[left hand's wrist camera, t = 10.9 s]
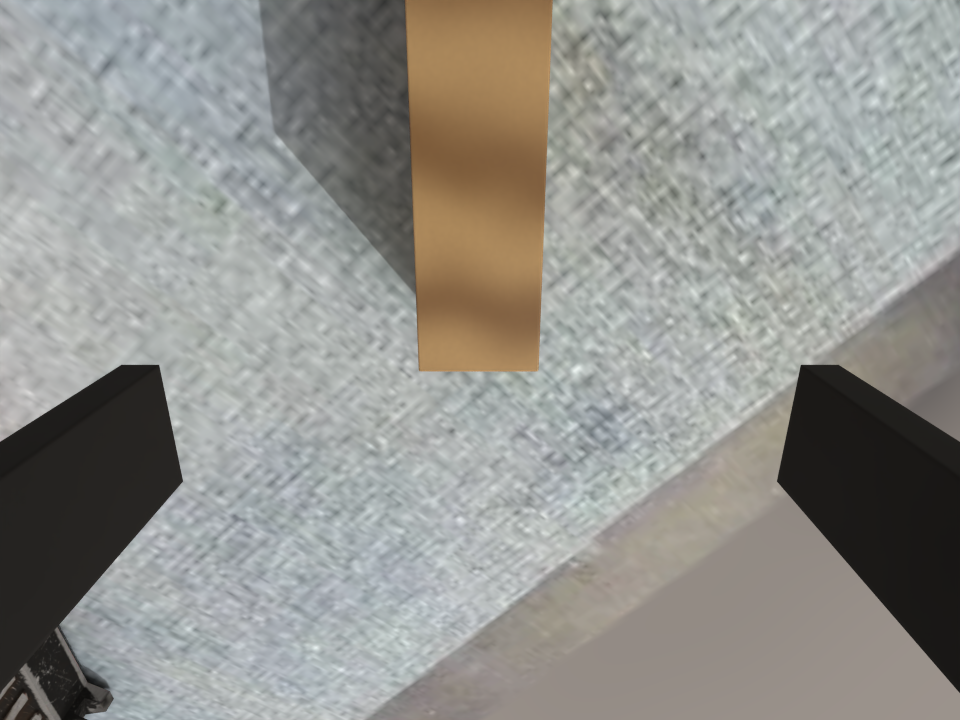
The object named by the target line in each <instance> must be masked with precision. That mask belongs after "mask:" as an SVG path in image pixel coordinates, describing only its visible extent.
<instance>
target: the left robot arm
mask: <svg viewBox="0 0 960 720" xmlns="http://www.w3.org/2000/svg"><path fill="white" fill-rule="evenodd" d="M182 482H183V479H182V474H181V469H180V465H179V460H178V455H177V450H176V445H175V440H174V435H173V430H172V426H171V421H170V416H169V411H168V406H167V401H166V396H165V392H164V387H163V382H162V377H161V372H160V367H159V365H121V366H119V367H118V368H116V369H114V370H113V371H111V372H110V373H108V374H107V375H105V376H103V377H102V378H100V379H99V380H97V381H95V382H94V383H92V384H91V385H89V386H88V387H86V388H84V389H83V390H81V391H80V392H78V393H77V394H75V395H73V396H72V397H70V398H69V399H67V400H66V401H64V402H62V403H61V404H59V405H58V406H56V407H54V408H53V409H51V410H50V411H48V412H47V413H45V414H43V415H42V416H40V417H39V418H37V419H36V420H34V421H32V422H31V423H29V424H28V425H26V426H25V427H23V428H21V429H20V430H18V431H17V432H15V433H13V434H12V435H10V436H9V437H7V438H6V439H4V440H2V441H1V442H0V693H1V691H2V690H3V689H4V688H5V687H6V686H7V684H8V683H9V682H10V681H11V680H12V679H13V677H14V676H15V675H16V674H17V673H18V672H19V671H20V669H21V668H22V667H23V666H24V665H25V664H26V662H27V661H28V660H29V659H30V658H31V657H32V655H33V654H34V653H35V652H36V651H37V650H38V649H39V647H40V646H41V645H42V644H43V643H44V642H45V640H46V639H47V638H48V637H49V636H50V635H51V633H52V632H53V631H54V630H55V629H56V628H57V627H58V625H59V624H60V623H61V622H62V621H63V620H64V618H65V617H66V616H67V615H68V614H69V613H70V611H71V610H72V609H73V608H74V607H75V606H76V605H77V603H78V602H79V601H80V600H81V599H82V598H83V596H84V595H85V594H86V593H87V592H88V591H89V590H90V588H91V587H92V586H93V585H94V584H95V583H96V581H97V580H98V579H99V578H100V577H101V576H102V574H103V573H104V572H105V571H106V570H107V569H108V568H109V566H110V565H111V564H112V563H113V562H114V561H115V559H116V558H117V557H118V556H119V555H120V554H121V552H122V551H123V550H124V549H125V548H126V547H127V546H128V544H129V543H130V542H131V541H132V540H133V539H134V537H135V536H136V535H137V534H138V533H139V532H140V530H141V529H142V528H143V527H144V526H145V525H146V524H147V522H148V521H149V520H150V519H151V518H152V517H153V515H154V514H155V513H156V512H157V511H158V510H159V509H160V507H161V506H162V505H163V504H164V503H165V502H166V500H167V499H168V498H169V497H170V496H171V495H172V493H173V492H174V491H175V490H176V489H177V488H178V487H179V485H180V484H181V483H182ZM777 482H778V483H779V484H780V485H781V487H782V488H783V489H784V490H785V491H786V492H787V493H788V495H789V496H790V497H791V498H792V499H793V500H794V502H795V503H796V504H797V505H798V506H799V507H800V508H801V510H802V511H803V512H804V513H805V514H806V515H807V517H808V518H809V519H810V520H811V521H812V522H813V524H814V525H815V526H816V527H817V528H818V529H819V530H820V532H821V533H822V534H823V535H824V536H825V537H826V539H827V540H828V541H829V542H830V543H831V544H832V546H833V547H834V548H835V549H836V550H837V551H838V552H839V554H840V555H841V556H842V557H843V558H844V559H845V561H846V562H847V563H848V564H849V565H850V566H851V567H852V569H853V570H854V571H855V572H856V573H857V574H858V576H859V577H860V578H861V579H862V580H863V581H864V583H865V584H866V585H867V586H868V587H869V588H870V589H871V591H872V592H873V593H874V594H875V595H876V596H877V598H878V599H879V600H880V601H881V602H882V603H883V605H884V606H885V607H886V608H887V609H888V610H889V611H890V613H891V614H892V615H893V616H894V617H895V618H896V620H897V621H898V622H899V623H900V624H901V625H902V627H903V628H904V629H905V630H906V631H907V632H908V633H909V635H910V636H911V637H912V638H913V639H914V640H915V642H916V643H917V644H918V645H919V646H920V647H921V649H922V650H923V651H924V652H925V653H926V654H927V655H928V657H929V658H930V659H931V660H932V661H933V662H934V664H935V665H936V666H937V667H938V668H939V669H940V671H941V672H942V673H943V674H944V675H945V676H946V677H947V679H948V680H949V681H950V682H951V683H952V684H953V685H954V687H955V688H956V689H957V690H958V691H959V692H960V442H959V441H958V440H956V439H954V438H953V437H951V436H950V435H948V434H947V433H945V432H943V431H942V430H940V429H939V428H937V427H935V426H934V425H932V424H931V423H929V422H928V421H926V420H924V419H923V418H921V417H920V416H918V415H917V414H915V413H913V412H912V411H910V410H909V409H907V408H906V407H904V406H902V405H901V404H899V403H898V402H896V401H894V400H893V399H891V398H890V397H888V396H887V395H885V394H883V393H882V392H880V391H879V390H877V389H876V388H874V387H872V386H871V385H869V384H868V383H866V382H865V381H863V380H861V379H860V378H858V377H857V376H855V375H853V374H852V373H850V372H849V371H847V370H846V369H844V368H842V367H841V366H839V365H801V367H800V372H799V377H798V382H797V387H796V392H795V396H794V401H793V406H792V411H791V416H790V421H789V426H788V430H787V435H786V440H785V445H784V450H783V455H782V460H781V465H780V469H779V474H778V479H777Z"/></svg>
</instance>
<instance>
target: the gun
mask: <svg viewBox="0 0 960 720" xmlns="http://www.w3.org/2000/svg"><path fill="white" fill-rule="evenodd" d="M113 699H114V698H113V696H112V695H111V693H110V691H108V690H105V689H103V688H100V687H98V686H95V685H93V684H90V683H88V682H87V680H86V679H85V677H84V675H83V673H82V671H81V669H80V668H79V666H78V664H77V662H76V660H75V659H74V657H73V655H72V653H71V651H70V649H69V648H68V646H67V644H66V642H65V640H64V638H63V637H62V635H61V633H60V631H59V629H58V627H57V628H56V629H55V630H54V631H53V632H52V633H51V635H50V636H49V637H48V638H47V639H46V640H45V642H44V643H43V644H42V645H41V646H40V647H39V649H38V650H37V651H36V652H35V653H34V654H33V655H32V657H31V658H30V659H29V660H28V661H27V662H26V664H25V665H24V666H23V667H22V668H21V669H20V671H19V672H18V673H17V674H16V675H15V676H14V677H13V679H12V680H11V681H10V682H9V683H8V684H7V686H6V687H5V688H4V689H3V690H2V691H1V693H0V720H87V719H85V718H84V716H85V714H91V713H98V712H105V711H107V709H108V707H109V706H110V704H111V702H112V701H113Z"/></svg>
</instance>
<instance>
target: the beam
mask: <svg viewBox="0 0 960 720" xmlns="http://www.w3.org/2000/svg"><path fill="white" fill-rule="evenodd" d="M552 3H553V0H405V20H406V46H407V72H408V98H409V124H410V151H411V177H412V203H413V229H414V255H415V281H416V308H417V334H418V360H419V371H538V368H539V342H540V316H541V290H542V264H543V238H544V212H545V186H546V159H547V133H548V107H549V81H550V55H551V29H552Z"/></svg>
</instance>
